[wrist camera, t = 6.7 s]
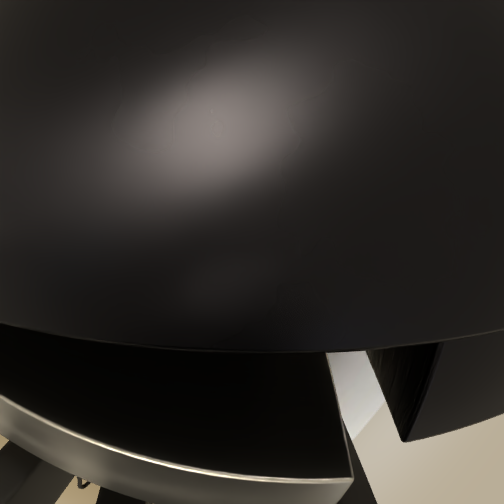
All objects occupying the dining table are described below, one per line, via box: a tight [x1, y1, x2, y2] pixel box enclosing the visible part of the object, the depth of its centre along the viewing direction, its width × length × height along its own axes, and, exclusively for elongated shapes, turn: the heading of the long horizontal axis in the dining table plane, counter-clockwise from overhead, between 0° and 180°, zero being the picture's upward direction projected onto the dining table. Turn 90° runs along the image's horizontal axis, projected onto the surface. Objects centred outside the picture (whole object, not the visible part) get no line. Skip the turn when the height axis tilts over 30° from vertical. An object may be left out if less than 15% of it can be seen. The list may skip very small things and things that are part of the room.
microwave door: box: [0, 323, 354, 504], centre depth 13 cm, size 7×15×18 cm, turn 84°
